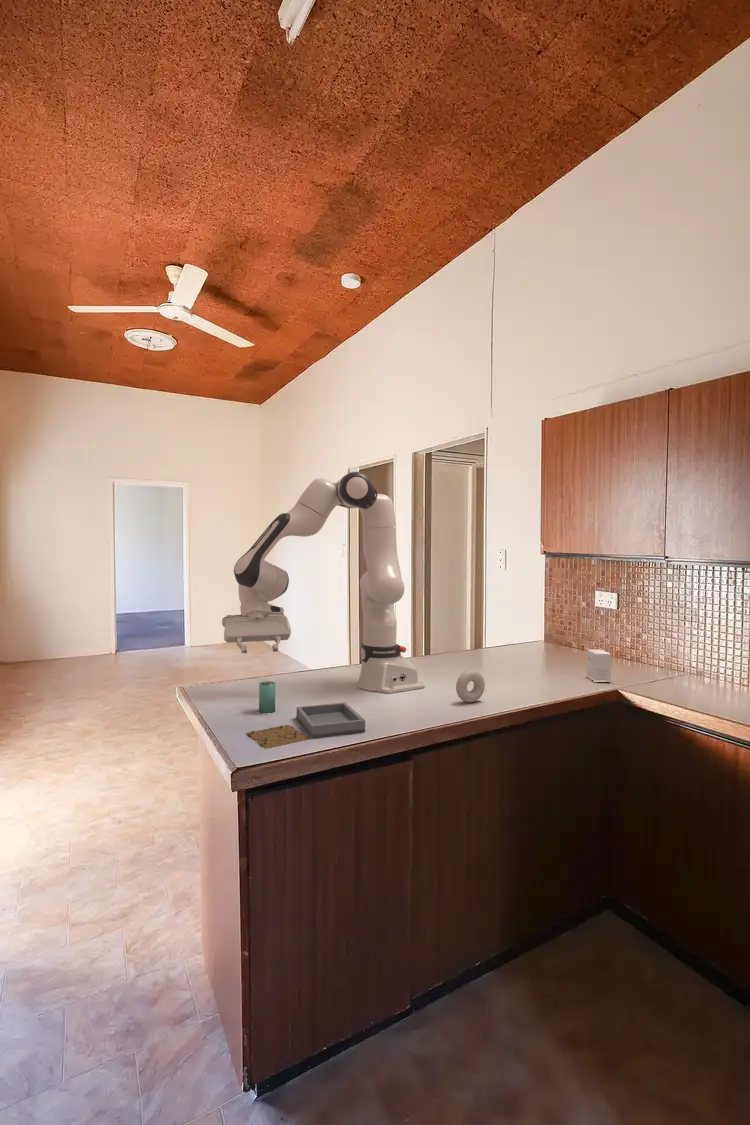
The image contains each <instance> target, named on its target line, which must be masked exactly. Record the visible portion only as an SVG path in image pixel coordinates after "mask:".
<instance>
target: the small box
mask: <svg viewBox="0 0 750 1125" xmlns="http://www.w3.org/2000/svg"><path fill="white" fill-rule="evenodd" d="M586 651H587V653H586V655H587V656H586V677H587V676H589V677H591V678H592V679H594V680H606V681H610V682H611V674H612V672H611V671H612V670H611V669H612V668H611V667H612V653H610V652H608V651H606V650H603V649H594V648H593V649H587V650H586Z"/></svg>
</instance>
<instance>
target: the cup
mask: <svg viewBox="0 0 750 1125" xmlns="http://www.w3.org/2000/svg"><path fill="white" fill-rule="evenodd" d="M259 712H260V713H259ZM273 712H274V713H275V712H276V681H273V680H264V681H261V682H258V713H259V714H262V713H266V714H265V715H268V714H267V713H271V714H273Z"/></svg>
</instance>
